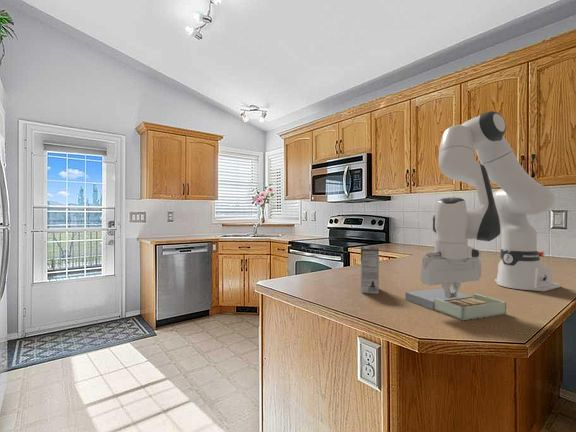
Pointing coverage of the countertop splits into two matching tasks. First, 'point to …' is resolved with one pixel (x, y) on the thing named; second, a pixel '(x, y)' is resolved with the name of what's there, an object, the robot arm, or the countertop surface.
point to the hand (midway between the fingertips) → (450, 297)
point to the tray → (472, 308)
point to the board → (431, 297)
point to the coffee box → (369, 270)
